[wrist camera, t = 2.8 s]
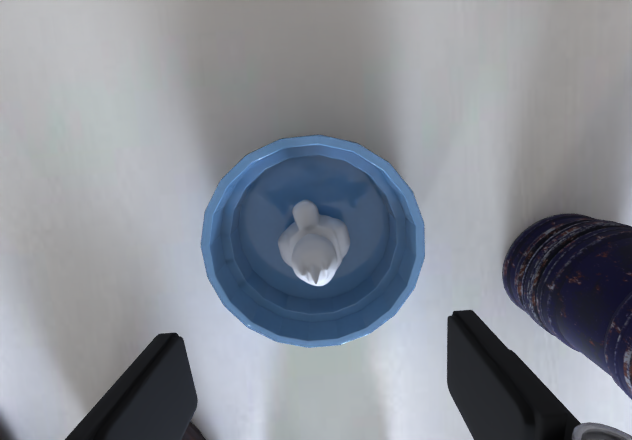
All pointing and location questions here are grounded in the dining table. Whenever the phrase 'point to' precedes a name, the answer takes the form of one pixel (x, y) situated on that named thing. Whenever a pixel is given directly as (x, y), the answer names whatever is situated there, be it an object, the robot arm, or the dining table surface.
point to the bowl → (276, 216)
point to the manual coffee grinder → (192, 433)
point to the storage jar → (578, 287)
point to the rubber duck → (314, 244)
